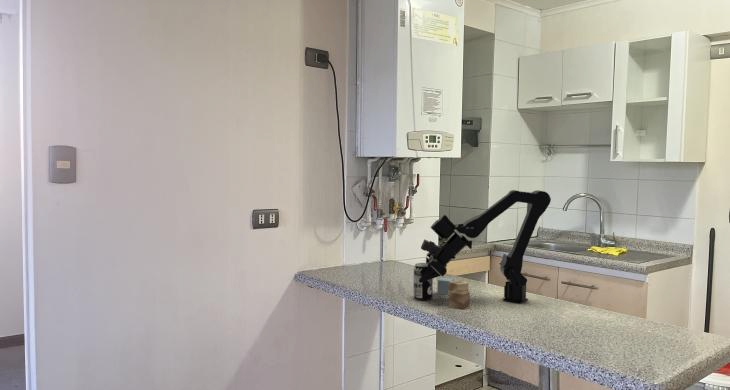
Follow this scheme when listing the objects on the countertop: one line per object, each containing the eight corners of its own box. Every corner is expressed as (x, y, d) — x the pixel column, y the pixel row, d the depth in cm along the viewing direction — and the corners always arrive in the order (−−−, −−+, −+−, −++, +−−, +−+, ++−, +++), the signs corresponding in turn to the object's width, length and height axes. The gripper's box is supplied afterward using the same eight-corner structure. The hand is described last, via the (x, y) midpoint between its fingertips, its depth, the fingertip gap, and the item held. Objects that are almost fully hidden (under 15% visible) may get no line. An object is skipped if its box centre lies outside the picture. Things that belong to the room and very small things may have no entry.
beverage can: (432, 296, 186) (432, 262, 185) (432, 301, 180) (432, 266, 179) (413, 295, 187) (413, 262, 186) (413, 300, 180) (413, 266, 180)
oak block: (468, 296, 187) (468, 282, 186) (457, 298, 184) (458, 284, 184) (458, 293, 191) (458, 280, 191) (448, 295, 188) (448, 281, 188)
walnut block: (469, 306, 174) (469, 291, 174) (463, 309, 170) (463, 294, 169) (455, 304, 177) (455, 289, 176) (449, 307, 172) (449, 292, 172)
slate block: (453, 291, 194) (453, 278, 194) (451, 295, 189) (451, 281, 189) (439, 290, 195) (440, 277, 195) (437, 294, 190) (437, 280, 190)
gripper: (432, 228, 191) (402, 258, 192) (436, 235, 172) (403, 268, 174) (454, 250, 191) (423, 280, 192) (460, 259, 172) (426, 292, 174)
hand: (419, 279), depth 183 cm, fingers closed on beverage can, 6 cm apart
